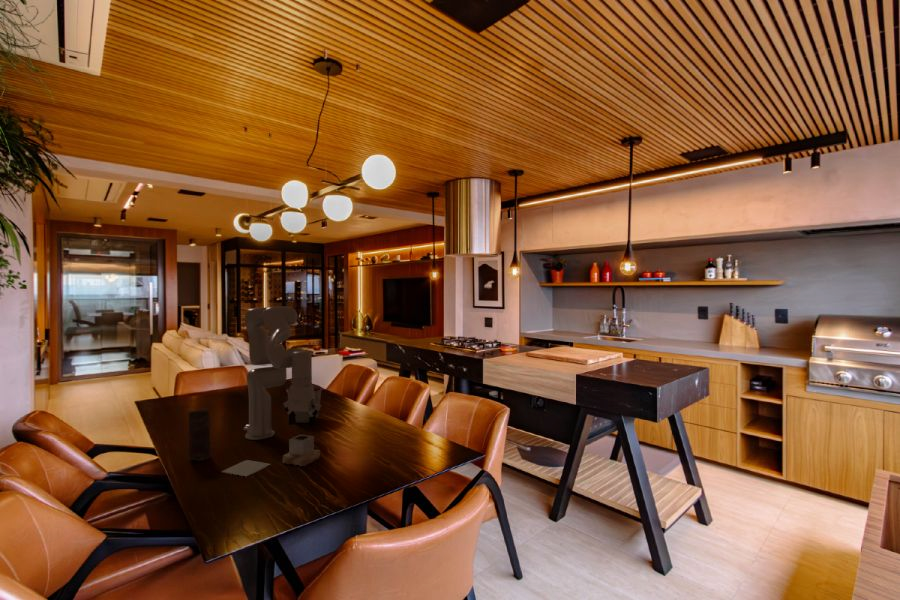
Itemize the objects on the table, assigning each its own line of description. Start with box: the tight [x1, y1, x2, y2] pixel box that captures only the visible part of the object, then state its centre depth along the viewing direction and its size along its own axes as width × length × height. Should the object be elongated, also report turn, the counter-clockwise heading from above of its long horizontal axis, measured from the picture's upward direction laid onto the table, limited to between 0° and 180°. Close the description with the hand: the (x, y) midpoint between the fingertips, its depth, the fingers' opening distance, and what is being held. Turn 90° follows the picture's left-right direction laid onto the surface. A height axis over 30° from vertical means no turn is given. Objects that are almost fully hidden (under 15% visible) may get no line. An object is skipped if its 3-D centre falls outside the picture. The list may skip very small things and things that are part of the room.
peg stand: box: [282, 439, 321, 467], centre depth 171 cm, size 10×10×8 cm
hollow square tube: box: [288, 434, 315, 457], centre depth 171 cm, size 7×7×6 cm
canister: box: [286, 383, 324, 424], centre depth 226 cm, size 18×18×21 cm
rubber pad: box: [220, 459, 272, 478], centre depth 163 cm, size 12×12×1 cm
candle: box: [188, 407, 212, 462], centre depth 172 cm, size 8×7×20 cm
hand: (302, 425), depth 171 cm, fingers open, 9 cm apart
